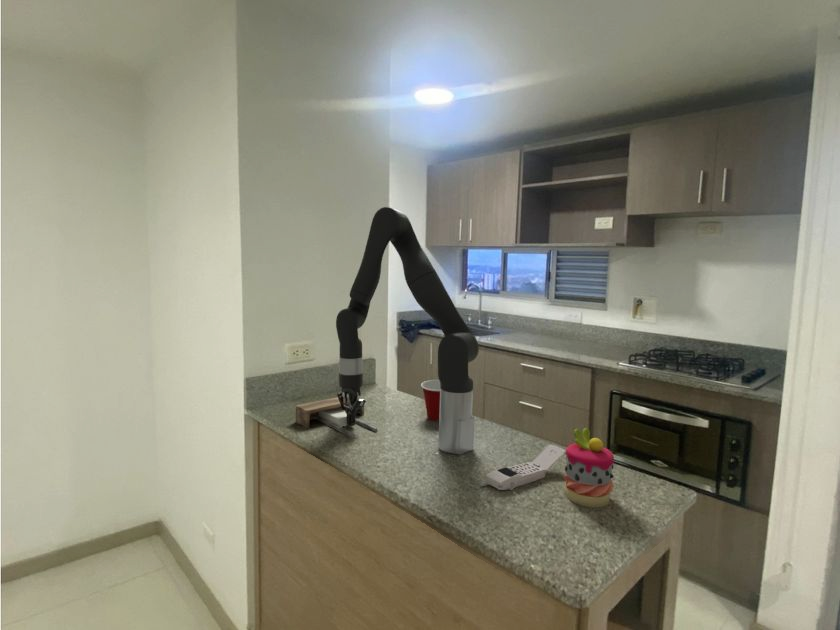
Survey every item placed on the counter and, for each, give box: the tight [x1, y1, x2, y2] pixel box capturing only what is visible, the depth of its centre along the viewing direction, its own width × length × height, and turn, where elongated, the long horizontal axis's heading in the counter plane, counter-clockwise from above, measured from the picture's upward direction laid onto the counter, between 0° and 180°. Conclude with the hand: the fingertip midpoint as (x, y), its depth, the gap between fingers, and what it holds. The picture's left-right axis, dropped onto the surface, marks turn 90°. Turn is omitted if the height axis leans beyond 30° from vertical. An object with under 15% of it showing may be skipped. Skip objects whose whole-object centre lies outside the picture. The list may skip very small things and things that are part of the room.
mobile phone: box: [479, 443, 566, 491], centre depth 116 cm, size 6×6×25 cm
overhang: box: [295, 396, 378, 439], centre depth 151 cm, size 23×22×6 cm
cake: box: [562, 427, 615, 508], centre depth 107 cm, size 10×11×15 cm
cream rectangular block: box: [319, 407, 348, 428], centre depth 155 cm, size 12×6×3 cm, turn 42°
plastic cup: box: [420, 379, 440, 421], centre depth 160 cm, size 11×11×12 cm
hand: (350, 424), depth 149 cm, fingers closed
